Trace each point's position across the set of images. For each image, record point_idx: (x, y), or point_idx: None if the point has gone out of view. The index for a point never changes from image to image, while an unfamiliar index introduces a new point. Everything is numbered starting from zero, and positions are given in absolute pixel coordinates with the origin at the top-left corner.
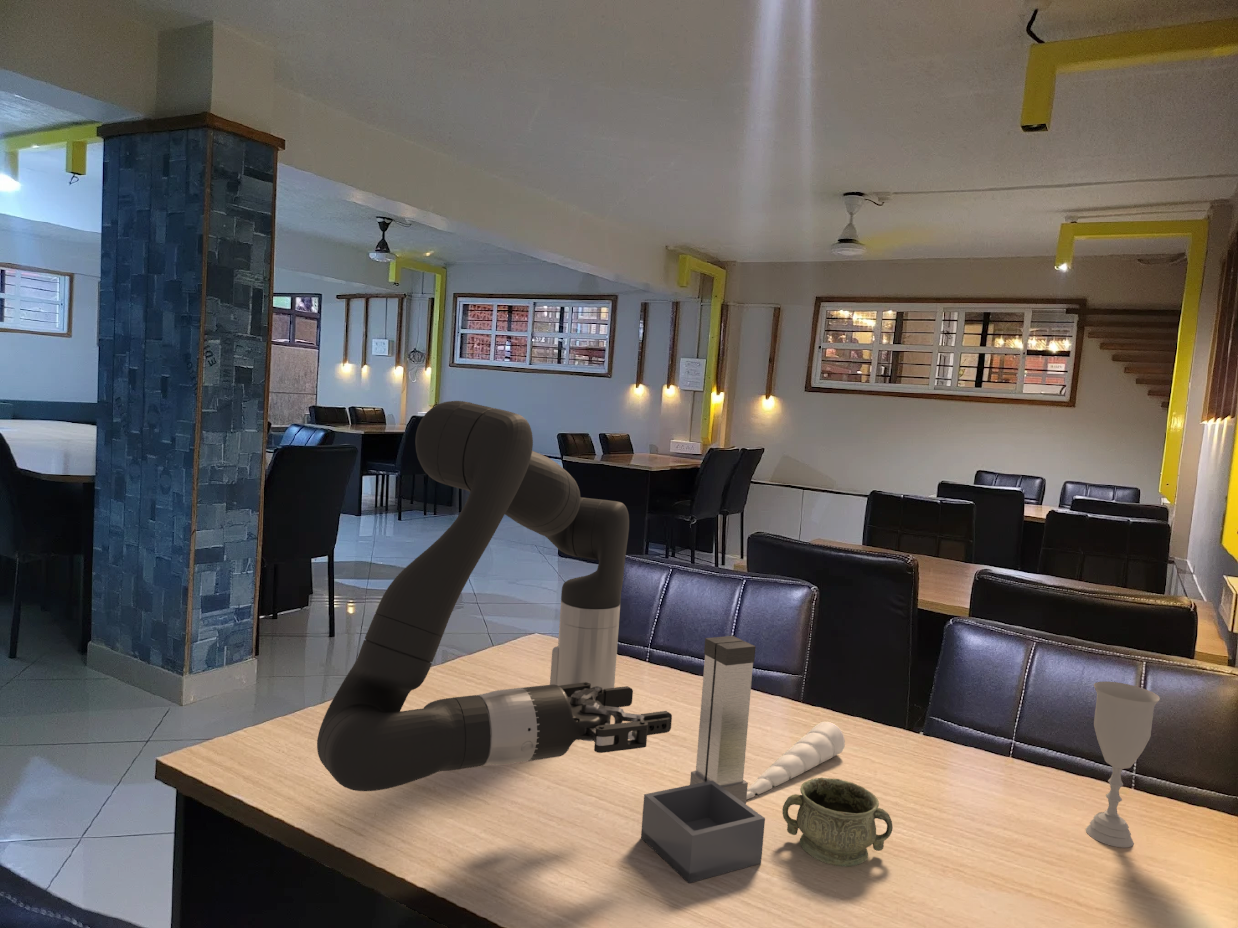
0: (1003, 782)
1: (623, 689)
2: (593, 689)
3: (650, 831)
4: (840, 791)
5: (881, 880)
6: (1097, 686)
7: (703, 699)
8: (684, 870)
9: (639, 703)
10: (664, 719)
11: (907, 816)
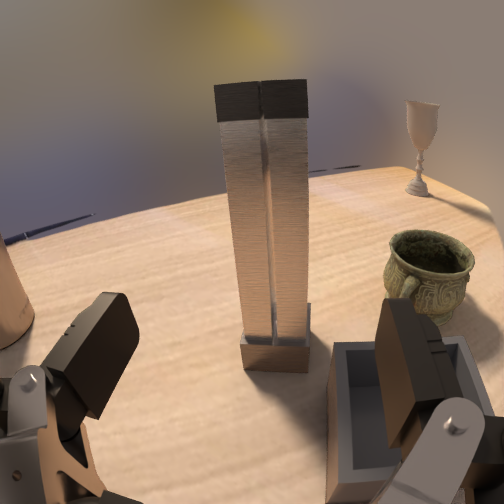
0: (346, 188)
1: (104, 315)
2: (20, 404)
3: (361, 498)
4: (398, 246)
5: (473, 300)
6: (408, 103)
7: (237, 220)
8: None
9: (49, 280)
10: (435, 333)
11: (377, 238)
